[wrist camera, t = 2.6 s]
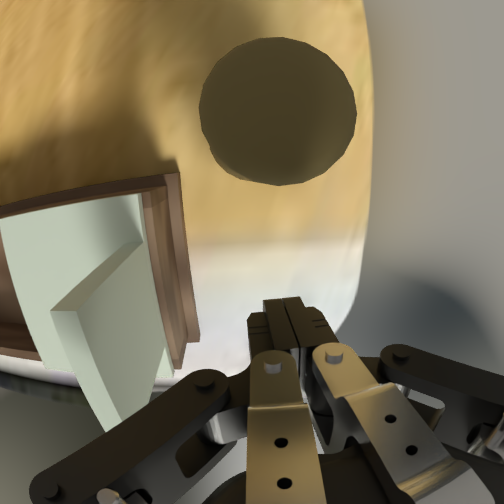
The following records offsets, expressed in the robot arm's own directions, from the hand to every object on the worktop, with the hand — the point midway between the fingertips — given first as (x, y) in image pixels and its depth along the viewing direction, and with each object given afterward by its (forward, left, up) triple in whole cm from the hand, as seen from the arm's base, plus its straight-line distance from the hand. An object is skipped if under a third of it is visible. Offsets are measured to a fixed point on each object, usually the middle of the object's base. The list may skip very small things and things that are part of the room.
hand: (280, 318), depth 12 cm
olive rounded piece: (-8, 0, -9) cm, 12 cm away
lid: (0, -11, -3) cm, 11 cm away
